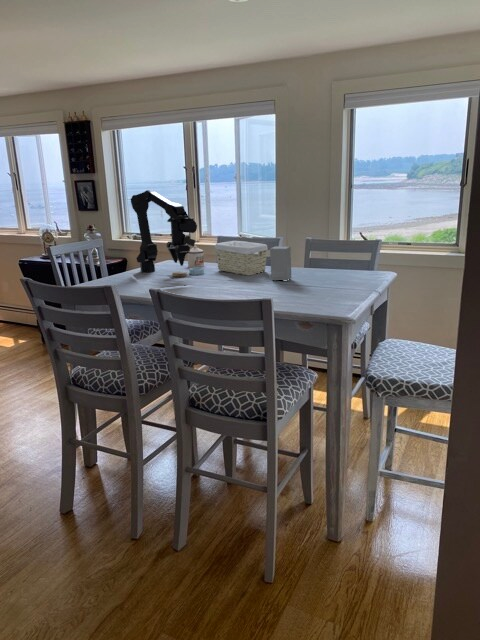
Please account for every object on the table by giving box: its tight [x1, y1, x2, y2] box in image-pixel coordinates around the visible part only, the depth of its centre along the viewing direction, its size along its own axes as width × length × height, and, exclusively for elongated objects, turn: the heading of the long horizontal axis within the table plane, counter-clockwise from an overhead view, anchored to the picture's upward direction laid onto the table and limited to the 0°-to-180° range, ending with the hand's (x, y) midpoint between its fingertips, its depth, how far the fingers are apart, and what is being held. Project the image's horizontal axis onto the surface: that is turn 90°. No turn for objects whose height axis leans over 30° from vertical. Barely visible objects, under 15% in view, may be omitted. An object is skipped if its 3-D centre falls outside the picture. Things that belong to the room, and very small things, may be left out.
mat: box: [166, 273, 193, 280], centre depth 231 cm, size 10×10×1 cm
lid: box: [171, 271, 188, 279], centre depth 231 cm, size 7×7×2 cm
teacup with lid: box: [187, 245, 206, 269], centre depth 260 cm, size 12×9×12 cm
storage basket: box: [215, 240, 269, 276], centre depth 244 cm, size 24×16×15 cm
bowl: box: [188, 267, 205, 276], centre depth 237 cm, size 7×7×4 cm
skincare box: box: [269, 245, 292, 280], centre depth 221 cm, size 8×7×16 cm
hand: (178, 264), depth 229 cm, fingers open, 9 cm apart
